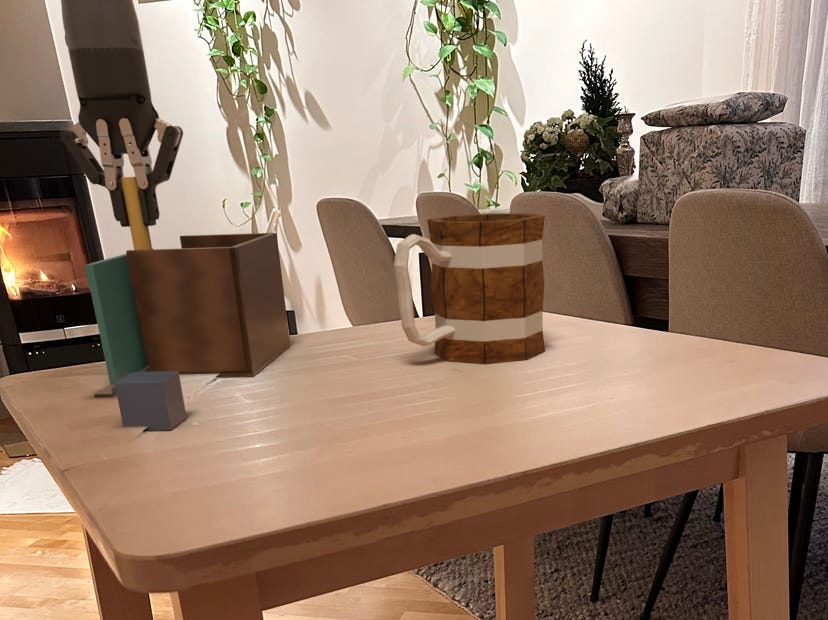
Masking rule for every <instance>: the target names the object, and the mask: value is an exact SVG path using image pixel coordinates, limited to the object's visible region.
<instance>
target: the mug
mask: <svg viewBox="0 0 828 620" xmlns="http://www.w3.org/2000/svg"><path fill="white" fill-rule="evenodd" d="M426 221H427V227H428V233H429V238H427V237H424V236H421V235H418V234H416V233H412V234H409V235H408V236H407V237H405V238H403V240H401V241H399V242H398V243H397V245H396V252H395V255H394V263H393V267H394V274H395V279H396V287H397V296H398V308H399V309H398V310H399V315H400V322H401V323H400V324H401V327H402V329H403V332H404V334H405V336H406V338H407V340H408V341H409V342H410V343H412V344H415V345H419V346H421V347H429V346H430V345H432V344H434V354H435V355H436V356H437V357H440V358H441V360H444V361H445V362H452V363H453V362H454V363H455V362H456V363H469V364H480V365H481V364H482V365H488V364H489V365H490V364H497V363H498V364H499V363H507V362H508V363H509V362H516V361H517V362H519V361H527V360H530V359H531V358H534V357H536V356H538V355H540V354H543V353H545V352H546V348H545V339H544V331H543V327H544V326H543V322H544V321H543V318H544V317H543V315H544V314H543V311H544V309H543V308H544V299H545V298H544V296H545V276H544V264H543V235H544V228H545V227H544V226H545V225H544V224H545V215H540V214H534V213H475V214H460V215H459V214H458V215H457V214H456V215H447V216H441V217H439V216H438V217H434V218H428V219H427V220H426ZM415 246H417V247H418V248H420V250H421V251H422V252H423V253H424V254H425V256H426V257H428V258H429V259H431V277H430V278H431V280H430V283H431V284H430V290H431V291H430V292H431V296H432V297H431V298H432V304H433V310H434V323H435V328H434V329H432V330H429V331H428V332H426V333H425V334H423V335H420V334H419V331H418V329H417V326H416V323H415V312H414V299H413V297H414V296H413V289H412V282H411V278H410V272H409V259H410V250H411V249H412V248H413V247H415Z"/></svg>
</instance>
